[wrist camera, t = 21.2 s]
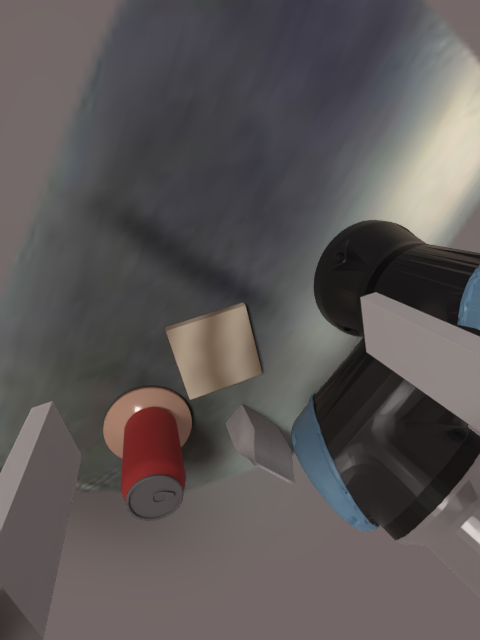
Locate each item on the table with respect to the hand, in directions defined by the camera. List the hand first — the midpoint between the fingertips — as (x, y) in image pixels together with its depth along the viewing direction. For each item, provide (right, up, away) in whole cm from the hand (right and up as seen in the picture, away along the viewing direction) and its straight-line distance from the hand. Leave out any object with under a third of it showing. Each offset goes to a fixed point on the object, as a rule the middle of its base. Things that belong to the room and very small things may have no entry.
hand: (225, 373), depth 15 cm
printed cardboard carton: (+2, -13, +37) cm, 39 cm away
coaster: (-11, -11, +32) cm, 36 cm away
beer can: (-11, -11, +32) cm, 35 cm away
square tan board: (-3, -2, +31) cm, 32 cm away
